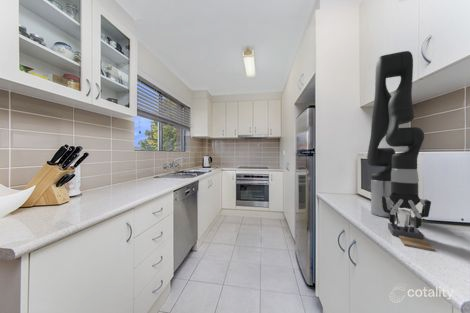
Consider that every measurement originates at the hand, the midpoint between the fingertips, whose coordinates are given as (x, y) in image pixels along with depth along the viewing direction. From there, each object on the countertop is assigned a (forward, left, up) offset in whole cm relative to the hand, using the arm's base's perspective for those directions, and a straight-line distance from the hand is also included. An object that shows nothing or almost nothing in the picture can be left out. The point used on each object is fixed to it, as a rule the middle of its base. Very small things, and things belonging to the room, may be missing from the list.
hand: (404, 225), depth 68 cm
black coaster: (0, 0, -3) cm, 3 cm away
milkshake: (0, 0, -3) cm, 3 cm away
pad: (+8, +1, -3) cm, 9 cm away
